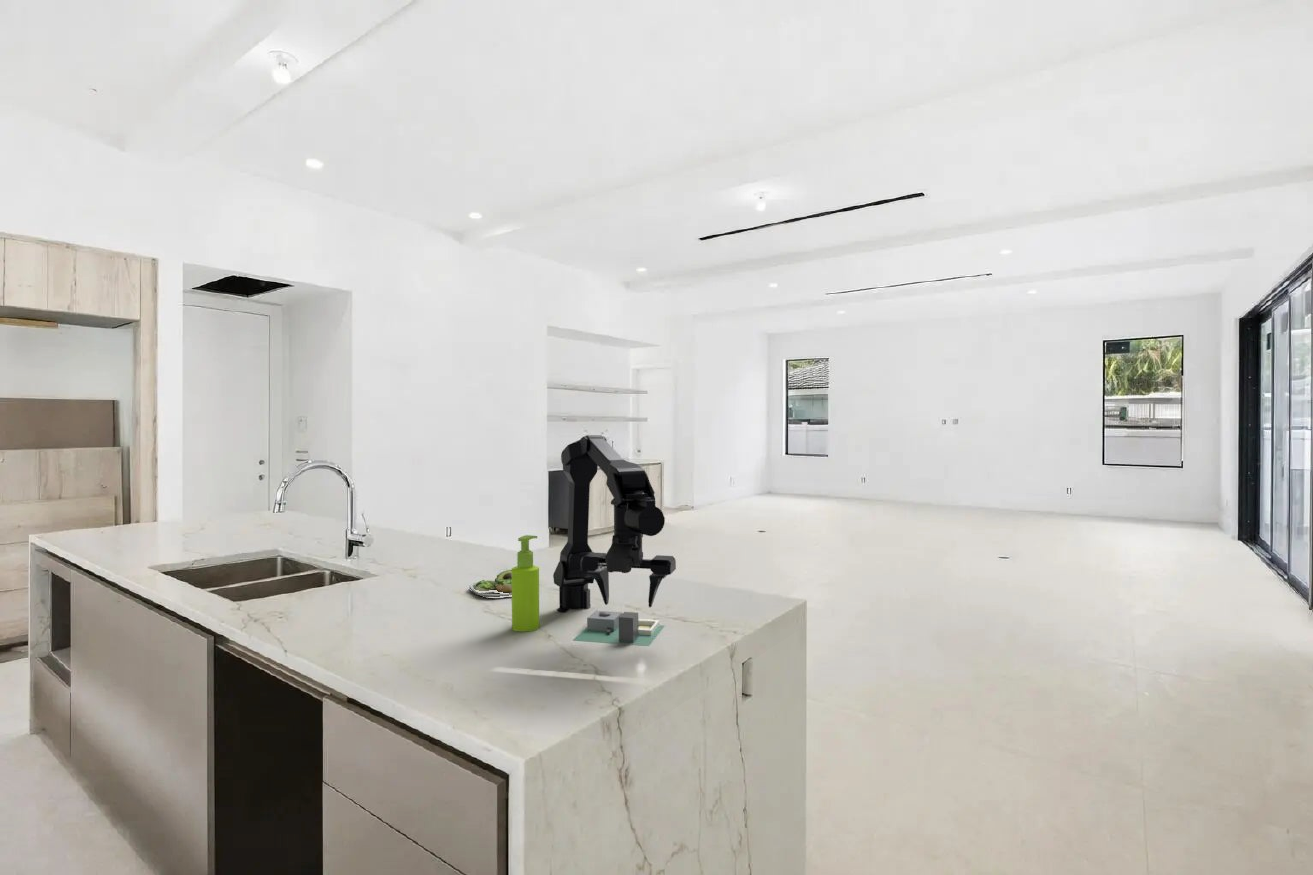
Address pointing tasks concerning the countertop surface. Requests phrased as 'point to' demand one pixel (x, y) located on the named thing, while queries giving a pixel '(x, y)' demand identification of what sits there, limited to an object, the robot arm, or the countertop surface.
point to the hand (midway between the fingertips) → (628, 605)
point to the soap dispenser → (525, 589)
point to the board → (617, 629)
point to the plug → (628, 627)
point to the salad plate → (495, 585)
